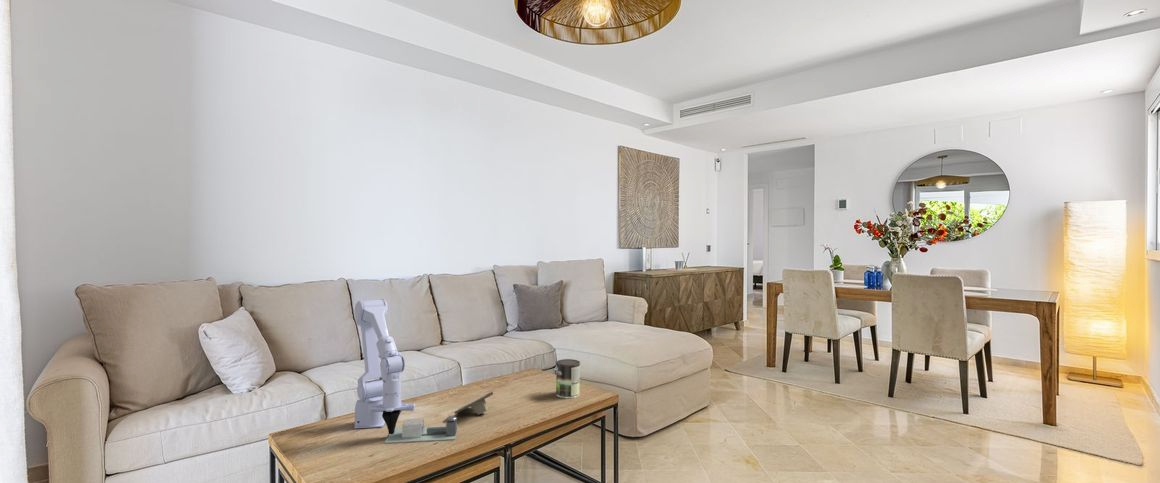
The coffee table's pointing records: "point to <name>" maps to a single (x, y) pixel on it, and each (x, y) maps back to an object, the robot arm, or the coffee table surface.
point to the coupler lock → (412, 428)
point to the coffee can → (567, 378)
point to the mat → (398, 438)
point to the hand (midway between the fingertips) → (391, 433)
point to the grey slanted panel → (476, 404)
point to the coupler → (445, 428)
